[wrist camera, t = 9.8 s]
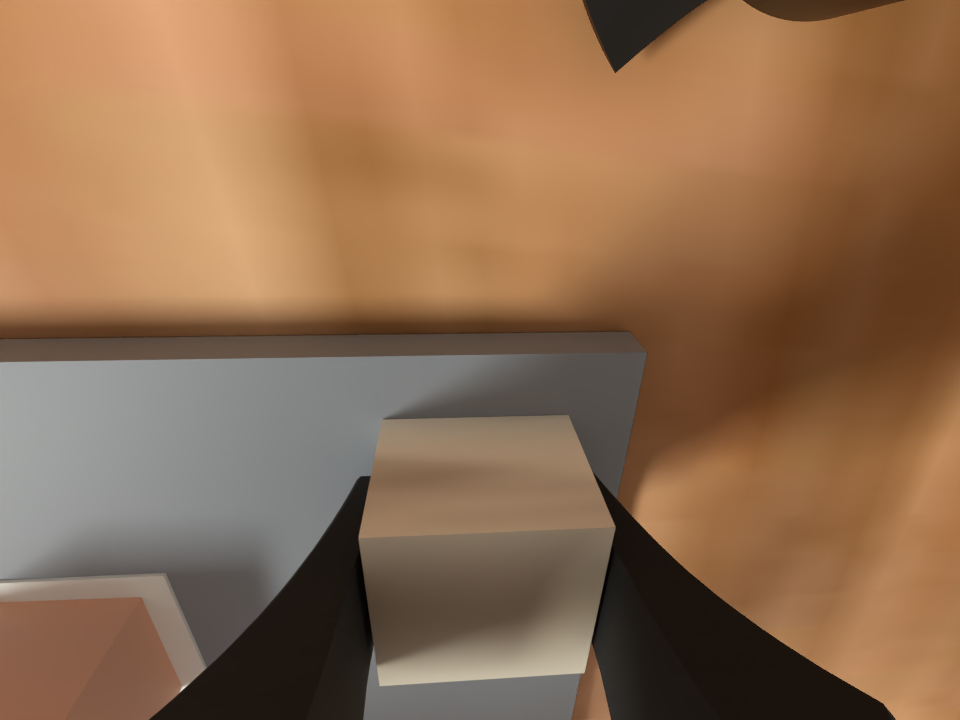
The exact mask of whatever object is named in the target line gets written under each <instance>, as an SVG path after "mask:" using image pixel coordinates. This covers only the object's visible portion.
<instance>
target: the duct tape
mask: <svg viewBox="0 0 960 720" xmlns="http://www.w3.org/2000/svg"><path fill="white" fill-rule="evenodd" d="M705 1H707V0H583V3H584V6H585V9H586V11H587V14H588V17H589V20H590V22H591V25H592V27H593V30H594V32H595V34H596V37H597V39H598V41H599V43H600V45H601V48H602V50H603V52H604V54H605V56H606V57H607V59H608V61H609V63H610V65H611V67H612V68H613V70H614V72H615V73H616V72H617V71H618V70H619V69H621V68H622V67H623V66H624V65H625V64H626V63H627V62H629V61H630V60H631V59H632V58H633V57H634V56H635V55H637V54H638V53H639V52H640V51H641V50H642V49H644V48H645V47H646V46H647V45H648V44H650V43H651V42H652V41H653V40H655V39H656V38H657V37H658V36H659V35H661V34H662V33H663V32H664V31H666V30H667V29H668V28H670V27H671V26H672V25H673V24H675V23H676V22H677V21H679V20H680V19H681V18H683V17H684V16H685V15H687V14H688V13H689V12H691V11H692V10H693V9H695V8H696V7H698V6H699V5H701V4H702V3H704V2H705ZM743 1H745V2H746V3H747V4H749V5H750V6H752V7H753V8H755V9H757V10H759V11H761V12H763V13H765V14H767V15H770V16H773V17H776V18H780V19H784V20H790V21H819V20H826V19H831V18H835V17H839V16H843V15H847V14H851V13H855V12H859V11H863V10H867V9H871V8H875V7H879V6H883V5H887V4H891V3H895V2H899V1H903V0H743Z"/></svg>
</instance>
